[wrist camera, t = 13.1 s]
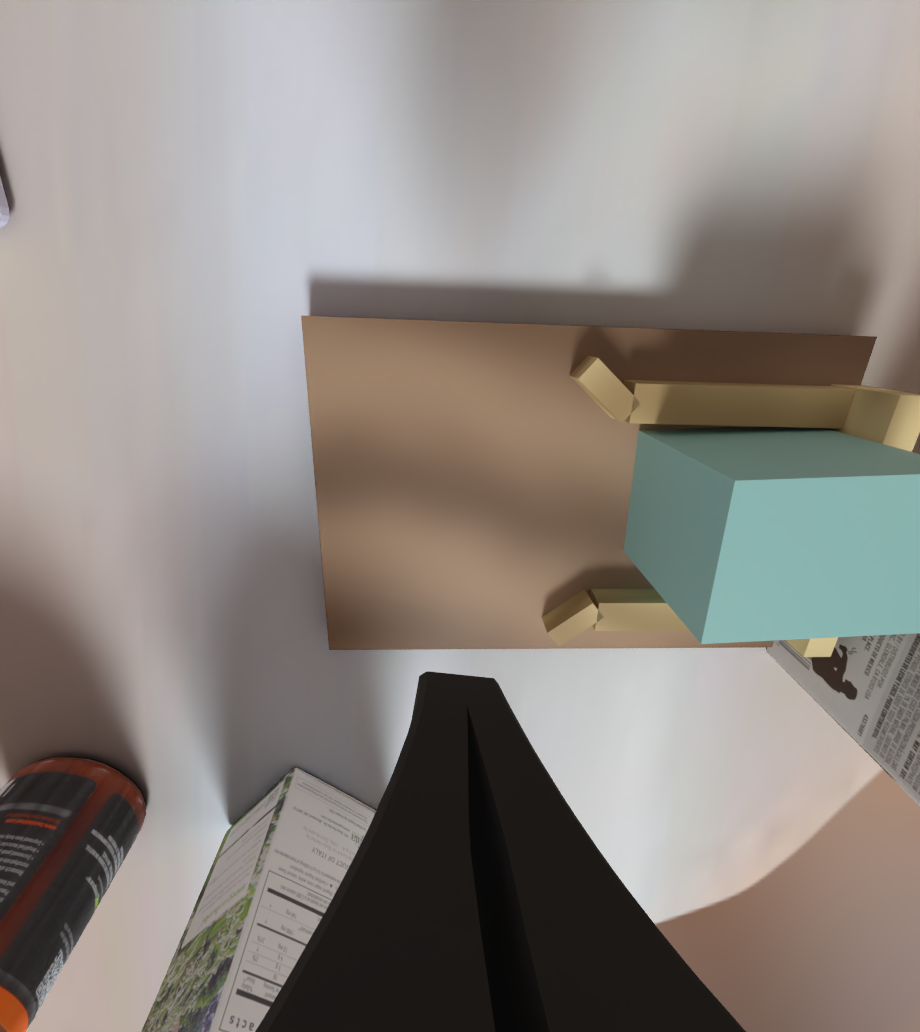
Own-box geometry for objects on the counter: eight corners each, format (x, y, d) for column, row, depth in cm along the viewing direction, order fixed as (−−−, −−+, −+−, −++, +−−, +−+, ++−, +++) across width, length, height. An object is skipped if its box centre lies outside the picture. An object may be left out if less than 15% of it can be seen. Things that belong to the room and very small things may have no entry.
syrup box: (321, 873, 25) (191, 1509, 12) (222, 825, 23) (-63, 1506, 10) (391, 814, 24) (336, 1459, 10) (292, 758, 22) (71, 1445, 9)
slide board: (309, 316, 15) (275, 314, 12) (851, 336, 16) (956, 339, 13) (334, 634, 20) (314, 696, 16) (756, 632, 21) (817, 690, 17)
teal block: (638, 430, 16) (735, 480, 11) (812, 424, 16) (986, 472, 11) (623, 551, 18) (701, 644, 13) (781, 544, 18) (919, 633, 13)
